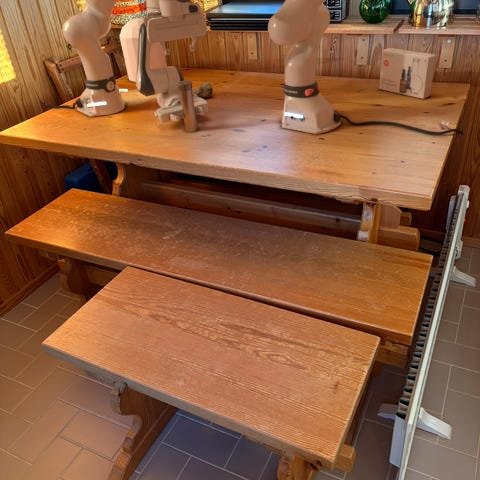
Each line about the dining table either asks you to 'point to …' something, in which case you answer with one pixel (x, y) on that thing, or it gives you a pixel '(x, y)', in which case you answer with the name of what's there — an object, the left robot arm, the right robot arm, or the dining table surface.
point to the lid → (184, 85)
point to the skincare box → (407, 72)
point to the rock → (203, 90)
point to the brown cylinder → (188, 110)
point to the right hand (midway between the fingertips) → (180, 52)
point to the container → (130, 48)
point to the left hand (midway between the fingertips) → (190, 116)
